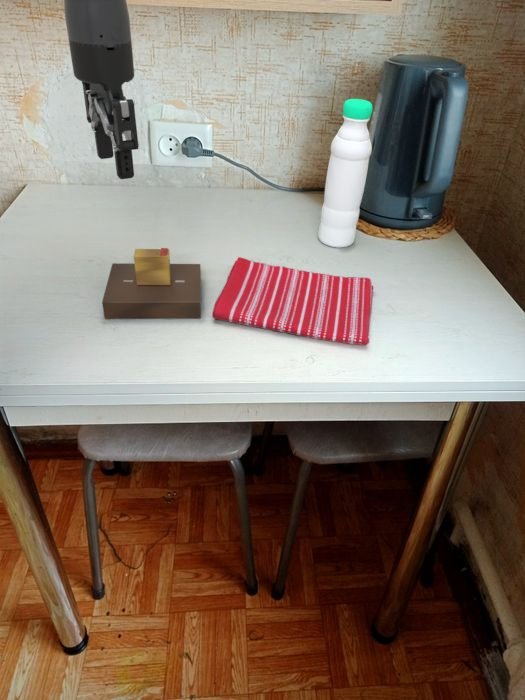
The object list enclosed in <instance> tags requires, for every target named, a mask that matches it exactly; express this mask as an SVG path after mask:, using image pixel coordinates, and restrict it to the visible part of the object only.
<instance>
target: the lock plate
mask: <svg viewBox="0 0 525 700" xmlns="http://www.w3.org/2000/svg"><path fill="white" fill-rule="evenodd" d="M170 268H171V285H137V280H136V272H135V263H123V262H122V263H119V262H118V263H117V262H116V263H112V264H111V267H110V272H109V275H108V278H107V284H106V286H105V290H104V294H103V296H102V297H103V298H102V301H101V304H102V309H103V315H104V319H105V320H138V319H139V320H146V319H147V320H149V319H150V320H151V319H153V320H154V319H155V320H156V319H159V320H160V319H161V320H162V319H163V320H165V319H170V320H171V319H172V320H173V319H201V314H202V313H201V312H202V311H201V310H202V309H201V305H202V303H201V297H202V296H201V294H202V293H201V292H202V291H201V290H202V287H201V286H202V277H201V270H202V269H201V263H170Z"/></svg>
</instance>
